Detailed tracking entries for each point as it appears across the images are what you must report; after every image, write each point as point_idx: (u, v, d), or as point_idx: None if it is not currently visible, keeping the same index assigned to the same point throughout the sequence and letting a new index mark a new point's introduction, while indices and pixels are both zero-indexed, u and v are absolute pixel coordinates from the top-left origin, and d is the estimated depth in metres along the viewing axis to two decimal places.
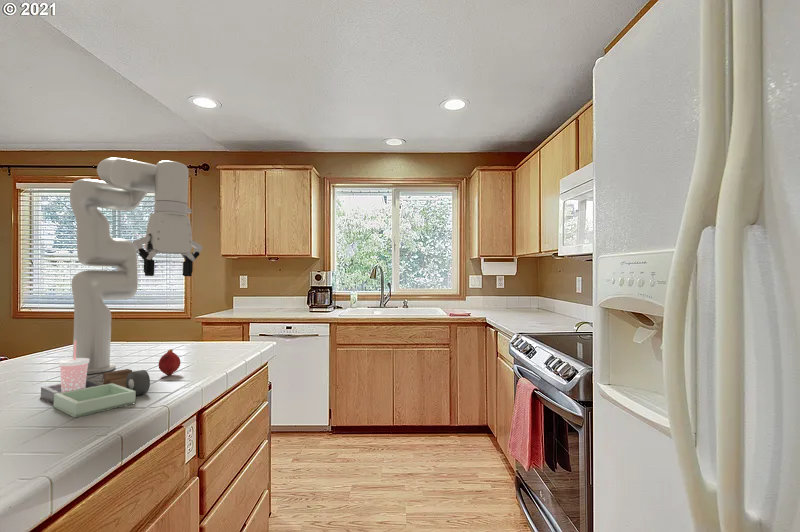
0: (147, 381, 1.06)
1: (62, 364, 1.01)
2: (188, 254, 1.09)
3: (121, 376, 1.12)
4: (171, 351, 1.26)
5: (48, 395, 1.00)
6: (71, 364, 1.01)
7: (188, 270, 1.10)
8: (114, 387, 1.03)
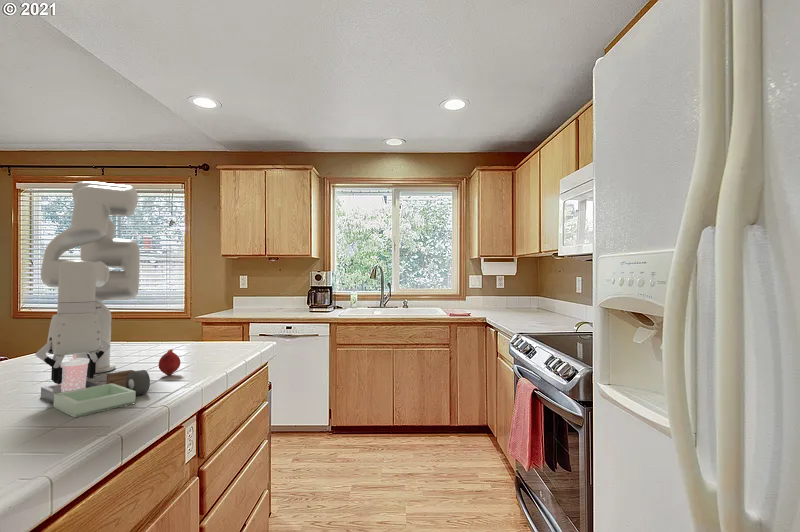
0: (147, 381, 1.06)
1: (62, 364, 1.01)
2: (91, 354, 1.06)
3: (124, 377, 1.11)
4: (171, 351, 1.26)
5: (48, 395, 1.00)
6: (71, 364, 1.01)
7: (90, 372, 1.06)
8: (114, 387, 1.03)
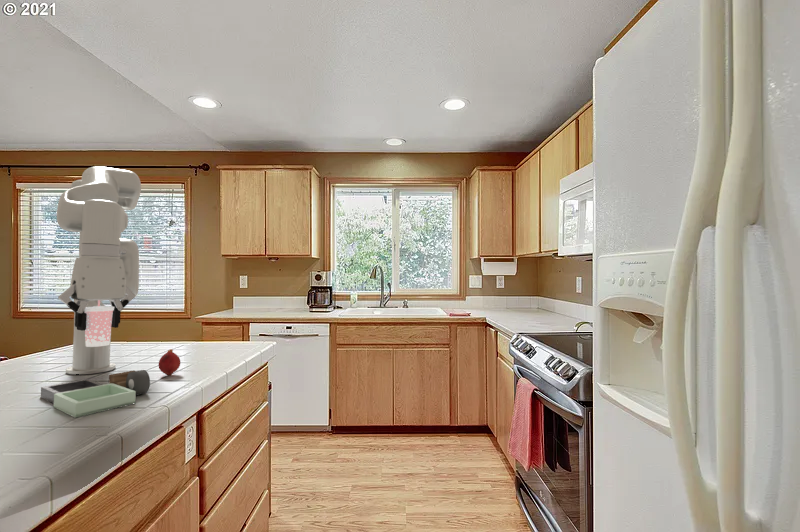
0: (147, 381, 1.06)
1: (86, 309, 0.95)
2: (116, 302, 1.00)
3: None
4: (171, 351, 1.26)
5: (48, 395, 1.00)
6: (96, 309, 0.95)
7: (114, 321, 0.99)
8: (114, 387, 1.03)
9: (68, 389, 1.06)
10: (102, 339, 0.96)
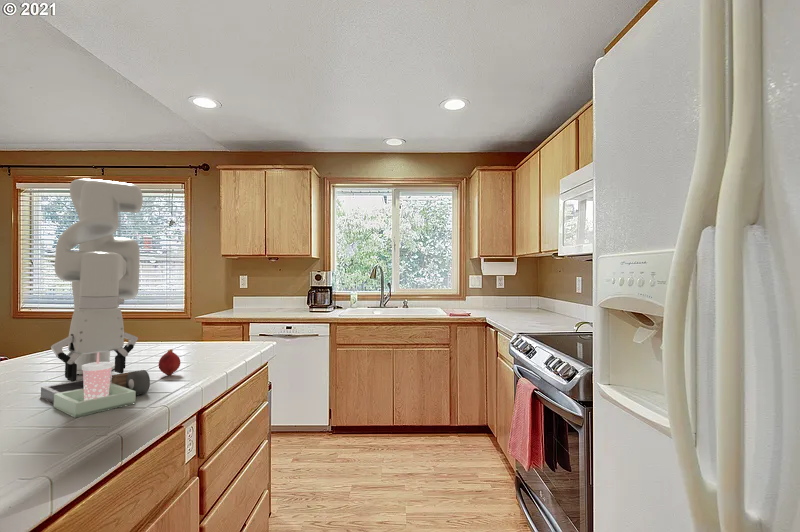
0: (147, 381, 1.06)
1: (85, 369, 0.95)
2: (119, 349, 1.00)
3: None
4: (171, 351, 1.26)
5: (48, 395, 1.00)
6: (95, 369, 0.95)
7: (119, 367, 1.00)
8: (114, 387, 1.03)
9: (68, 389, 1.06)
10: None
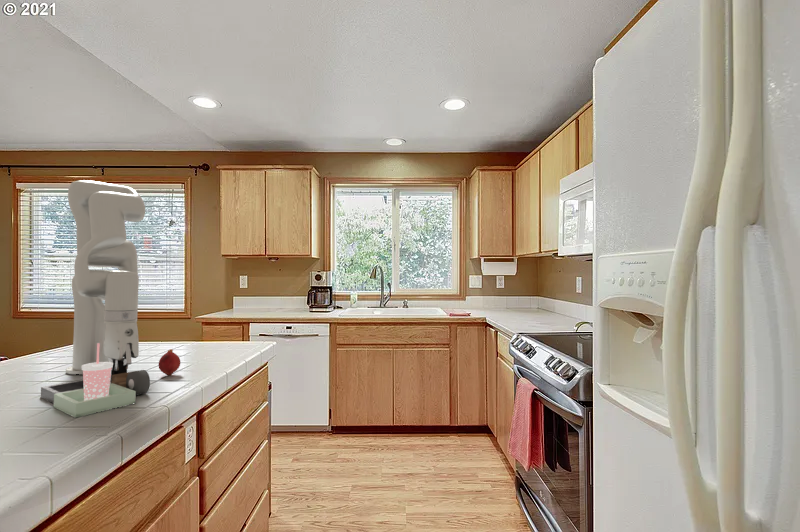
0: (147, 381, 1.06)
1: (85, 369, 0.95)
2: (115, 362, 1.10)
3: None
4: (171, 351, 1.26)
5: (48, 395, 1.00)
6: (94, 369, 0.95)
7: None
8: (114, 387, 1.03)
9: (68, 389, 1.06)
10: None
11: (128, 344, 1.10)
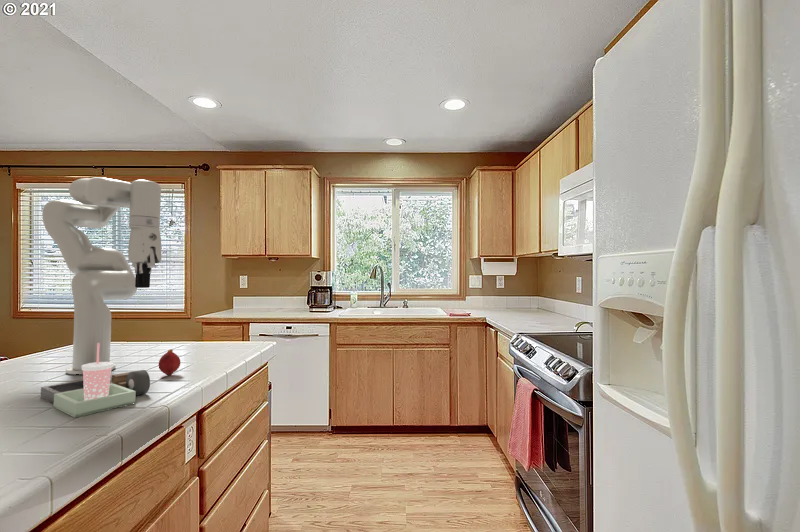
0: (147, 381, 1.06)
1: (85, 369, 0.95)
2: (140, 265, 1.17)
3: None
4: (171, 351, 1.26)
5: (48, 395, 1.00)
6: (94, 369, 0.95)
7: None
8: (114, 387, 1.03)
9: (68, 389, 1.06)
10: None
11: (152, 248, 1.17)
